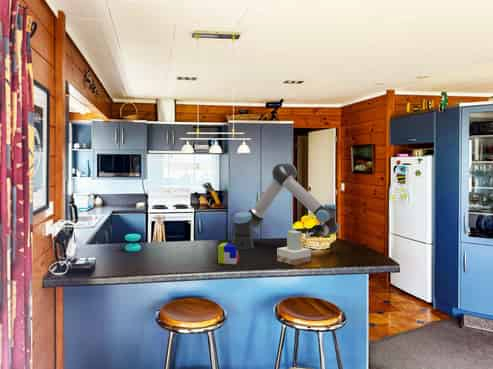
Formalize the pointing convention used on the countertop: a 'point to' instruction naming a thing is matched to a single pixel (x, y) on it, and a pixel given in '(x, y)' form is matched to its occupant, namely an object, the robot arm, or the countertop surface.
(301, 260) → the tower base
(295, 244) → the sage block
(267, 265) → the countertop surface
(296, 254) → the tower top
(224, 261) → the puzzle toy
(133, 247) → the teal spool
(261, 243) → the countertop surface
